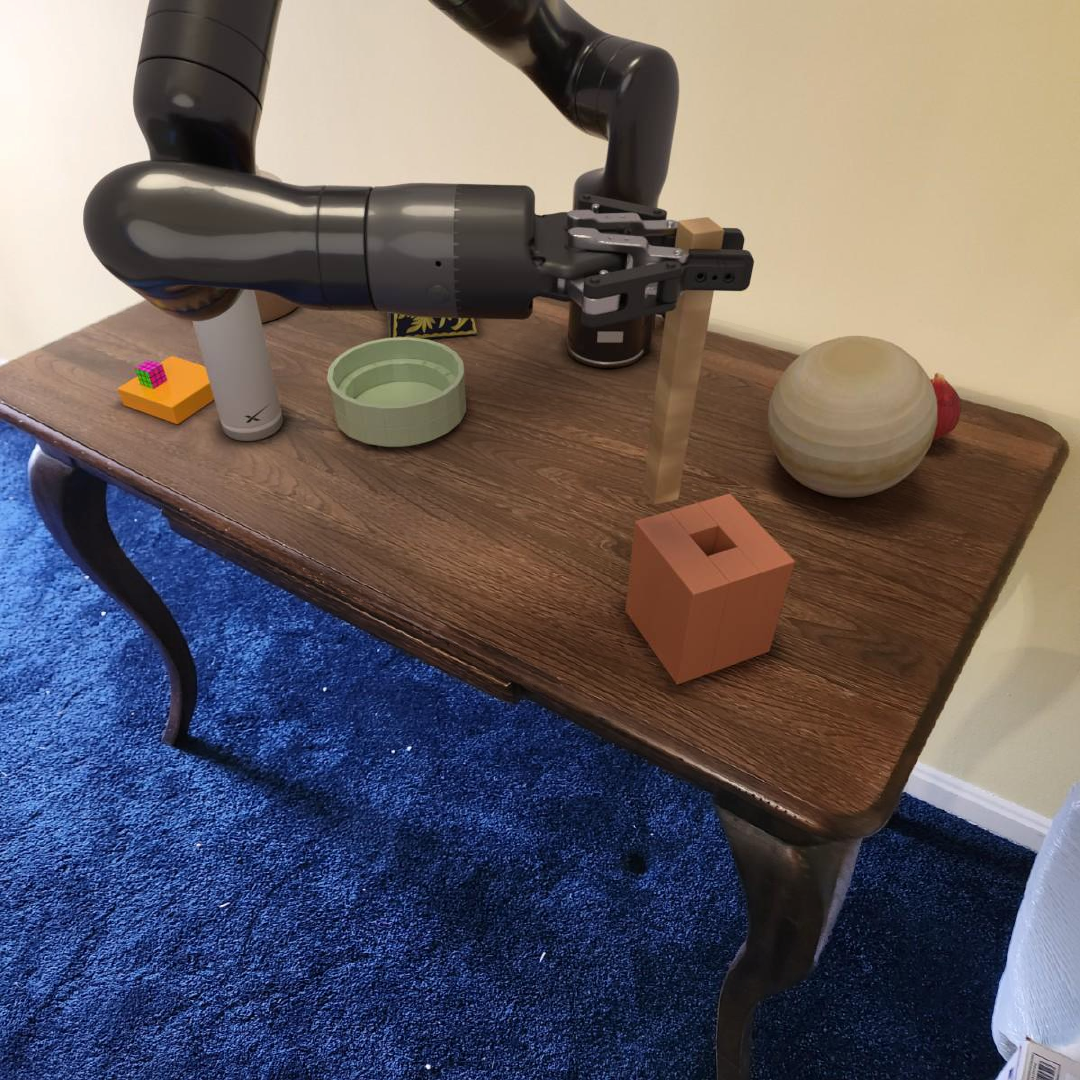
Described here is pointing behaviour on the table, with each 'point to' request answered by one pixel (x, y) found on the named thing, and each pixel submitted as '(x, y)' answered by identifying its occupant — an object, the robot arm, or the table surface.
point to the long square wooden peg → (679, 372)
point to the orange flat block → (168, 389)
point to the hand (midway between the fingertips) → (744, 259)
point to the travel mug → (240, 371)
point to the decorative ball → (852, 416)
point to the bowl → (397, 391)
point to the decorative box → (429, 326)
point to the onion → (945, 406)
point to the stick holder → (706, 586)
